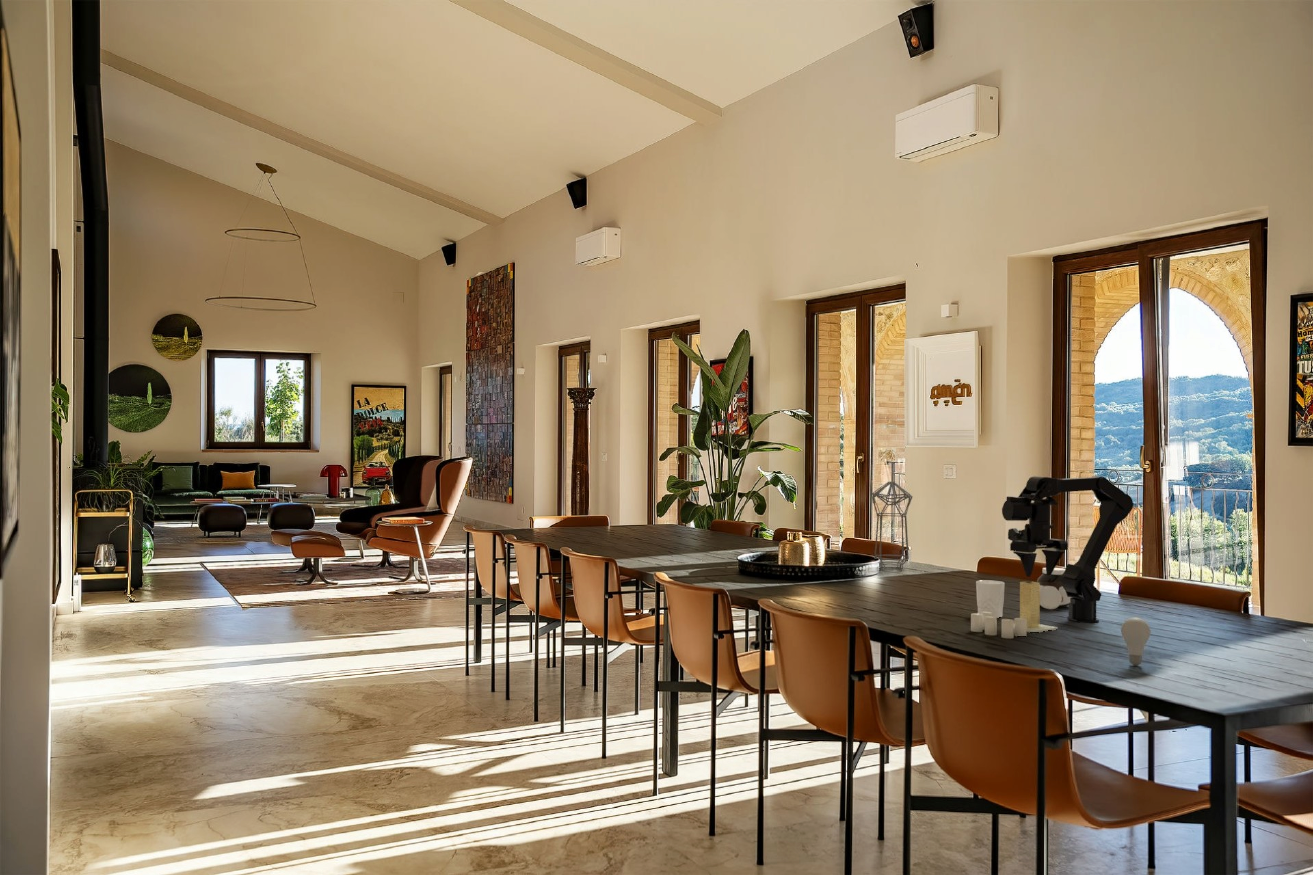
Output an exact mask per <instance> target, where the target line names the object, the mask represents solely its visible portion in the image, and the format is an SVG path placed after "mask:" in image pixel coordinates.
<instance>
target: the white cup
mask: <svg viewBox="0 0 1313 875" xmlns="http://www.w3.org/2000/svg"><path fill="white" fill-rule="evenodd" d="M975 586H976V587H975V588H976V605H977V613H978V614H981V612H992V617H997V619H1000V618H999V617H1001V618H1002V617H1003V612H1004V611H1003V608H1004V599H1005V582H1004V581H1000V580H991V579H989V580H987V579H986V580H985V579H983V580H982V579H981V580H976V581H975Z"/></svg>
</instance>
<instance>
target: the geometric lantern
mask: <svg viewBox="0 0 1313 875" xmlns="http://www.w3.org/2000/svg"><path fill="white" fill-rule="evenodd" d="M888 486H889V488H888V491H887V493H886V494H884V493H883V494H882V492H883V491H884V490H885V489H886V488H887V487H888ZM895 487H897V489H898V490H900V491H901V492H902V493H899V494H898V493H897V491H896V488H895ZM891 492H892V493H891ZM870 495H871V496H872V497H871V499H872V503H873V506H874V510H875V513H876V519H877V520H876V530H875V531H876V534H875V548H874V560H875V559H879V561H880V563H879V567H880V568H879V569H880V570H881V571H882V570H883V571H889V570H890V571H903V570H904V565H905V563H906V562H907V561H909V560H910V559H909V558H910V557H909V555H910V554H909V539H908V538H909V537H908V521H907V515H908V511H909V506H910V505H911V502H912V499H913V495H911V493H910V492H908V491H907V490H905V489H904V488H903V487H902V486H900V485H899V484H898V483H896V481H893V480H892V481H887V482H885V483H884V484H883V485H882V486H880V487H879V488H876V490H875V491H872V493H870ZM890 496H891V497H890ZM876 498H877V499H879V500H880V501H882V502H883V503H884V506H883V509H882V510H881V512H880V509H879V505H878V503H877V502H876ZM906 499H908V501H907V504H906V508H905V511H903V510H902V508H901V507H900V505H899V503H901V502H903V501H905V500H906ZM890 500H892V501H890ZM889 506H895V508H896V510H897V511H898V512H885V511H886V510H887V508H889ZM897 515H898V517H900V519H901V522H900V523H901V554H882V532H883V517H897ZM904 528H905V529H904ZM904 530H905V538H904ZM878 531H879V532H878ZM878 534H879V550H878V554H877V548H878V547H877V546H878ZM904 539H905V541H904ZM904 542H905V544H904ZM905 546H906V547H905ZM905 548H906V555H905ZM883 557H900V558H883ZM885 560H887V561H885ZM893 563H894V564H893ZM895 563H896V564H895Z"/></svg>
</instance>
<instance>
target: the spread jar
mask: <svg viewBox="0 0 1313 875" xmlns="http://www.w3.org/2000/svg"><path fill="white" fill-rule="evenodd" d="M1065 569H1066V568H1062V567H1055V568H1054V570H1053V572H1052V574H1051V575H1047V572H1046V567H1042V574H1041V575H1040V576H1039V577H1038V578H1037V580H1036V582H1038V583H1040V606H1041V607H1042V608H1044V609H1046V610H1054V609H1055V610H1056V609H1064V608H1065V609H1066V608H1067V607H1069V603H1070V598H1072V597H1067V594H1066V591H1065V590H1064V588H1063V586H1062V583H1061V581H1062V578H1063V576H1061V575H1062V574H1063V573H1064V572H1065Z"/></svg>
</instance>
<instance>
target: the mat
mask: <svg viewBox="0 0 1313 875" xmlns="http://www.w3.org/2000/svg"><path fill="white" fill-rule="evenodd" d="M1056 629H1058V627H1057V626H1052V625H1047V624H1042V623H1040V625H1039V627H1034V628H1028V627H1027V633H1030V632H1039V633H1044V632H1043V631H1045V632H1049V631H1048V630H1052V631H1057V630H1056Z"/></svg>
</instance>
